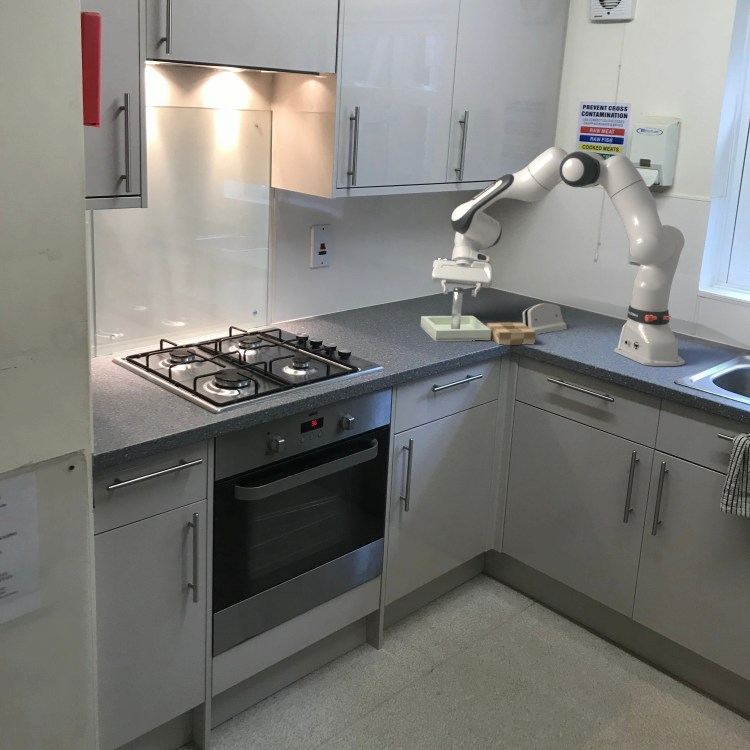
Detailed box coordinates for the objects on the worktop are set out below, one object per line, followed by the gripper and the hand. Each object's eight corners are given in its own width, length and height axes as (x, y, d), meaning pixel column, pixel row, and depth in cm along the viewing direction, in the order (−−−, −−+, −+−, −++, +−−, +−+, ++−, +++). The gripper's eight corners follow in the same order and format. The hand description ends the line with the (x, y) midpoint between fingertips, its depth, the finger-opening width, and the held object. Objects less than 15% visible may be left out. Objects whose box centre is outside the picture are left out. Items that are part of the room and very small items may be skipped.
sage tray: (490, 340, 285) (491, 330, 283) (435, 341, 281) (436, 330, 279) (472, 325, 301) (473, 315, 300) (420, 326, 297) (421, 316, 296)
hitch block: (534, 344, 283) (535, 332, 282) (498, 345, 280) (499, 332, 279) (520, 334, 294) (521, 322, 293) (485, 334, 291) (486, 322, 290)
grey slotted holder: (534, 335, 293) (529, 305, 293) (523, 337, 297) (519, 307, 297) (567, 329, 303) (563, 300, 303) (557, 330, 307) (552, 301, 307)
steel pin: (461, 331, 289) (464, 289, 285) (452, 331, 289) (455, 289, 284) (458, 329, 292) (461, 287, 288) (449, 329, 292) (452, 287, 287)
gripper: (433, 252, 302) (428, 286, 296) (494, 257, 299) (490, 292, 293) (434, 262, 308) (428, 296, 302) (494, 268, 305) (489, 302, 299)
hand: (459, 294), depth 297 cm, fingers open, 8 cm apart
